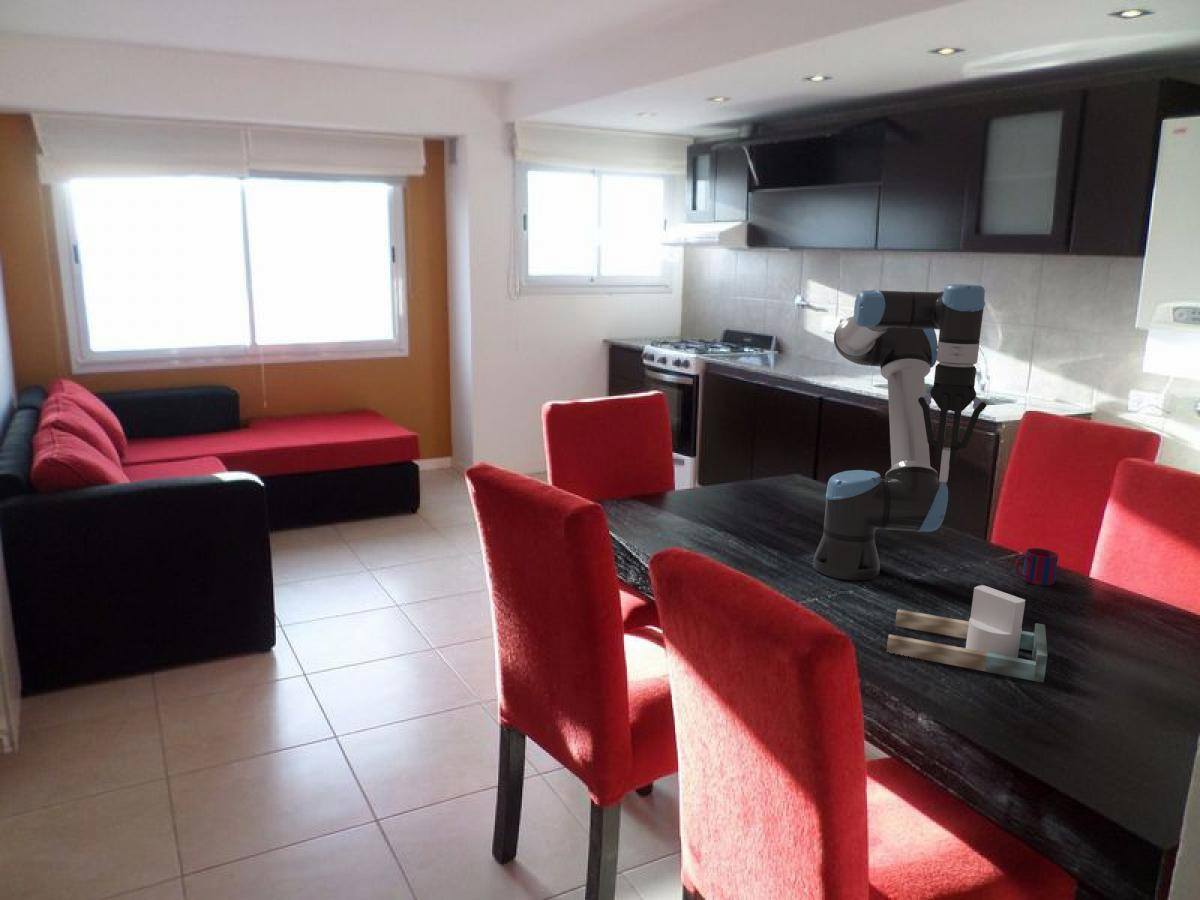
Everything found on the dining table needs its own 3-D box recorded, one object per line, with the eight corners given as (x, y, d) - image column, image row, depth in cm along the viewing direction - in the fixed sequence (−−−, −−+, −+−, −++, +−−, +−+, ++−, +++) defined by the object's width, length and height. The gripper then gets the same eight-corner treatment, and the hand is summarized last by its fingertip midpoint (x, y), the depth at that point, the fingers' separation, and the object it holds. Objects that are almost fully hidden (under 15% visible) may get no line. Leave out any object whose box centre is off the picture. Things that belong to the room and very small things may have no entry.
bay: (886, 652, 169) (889, 627, 168) (896, 623, 182) (898, 599, 181) (1043, 682, 158) (1047, 656, 157) (1041, 649, 172) (1044, 624, 170)
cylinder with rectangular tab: (955, 650, 170) (963, 590, 167) (983, 640, 175) (991, 581, 172) (999, 669, 163) (1007, 606, 160) (1027, 657, 168) (1036, 597, 165)
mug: (1060, 585, 206) (1064, 557, 204) (1020, 586, 204) (1023, 558, 203) (1042, 575, 212) (1046, 547, 210) (1003, 576, 211) (1006, 548, 209)
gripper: (919, 363, 176) (907, 480, 181) (991, 368, 171) (977, 488, 176) (923, 359, 183) (911, 472, 188) (992, 364, 178) (978, 480, 183)
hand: (943, 480), depth 182 cm, fingers closed
